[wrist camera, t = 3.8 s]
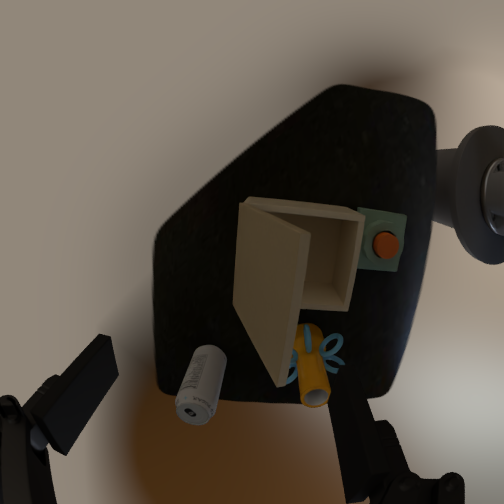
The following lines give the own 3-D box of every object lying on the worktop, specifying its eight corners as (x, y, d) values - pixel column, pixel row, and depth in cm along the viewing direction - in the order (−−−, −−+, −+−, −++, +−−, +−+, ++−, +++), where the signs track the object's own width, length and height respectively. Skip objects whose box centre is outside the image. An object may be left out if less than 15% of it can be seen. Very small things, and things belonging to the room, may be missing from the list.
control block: (402, 214, 40) (412, 217, 36) (392, 268, 42) (401, 275, 39) (357, 207, 40) (364, 210, 37) (348, 264, 42) (354, 271, 39)
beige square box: (346, 207, 40) (365, 215, 32) (334, 286, 43) (347, 311, 35) (248, 196, 41) (243, 202, 32) (242, 278, 44) (236, 302, 35)
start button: (396, 233, 37) (401, 235, 36) (391, 256, 38) (396, 260, 37) (374, 230, 38) (379, 232, 36) (370, 254, 39) (374, 258, 37)
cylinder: (315, 294, 44) (333, 347, 30) (349, 334, 46) (374, 391, 31) (257, 337, 47) (252, 398, 32) (295, 372, 48) (301, 433, 34)
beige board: (311, 233, 18) (300, 232, 17) (285, 385, 21) (276, 387, 21) (246, 202, 32) (239, 202, 32) (238, 304, 35) (232, 304, 35)
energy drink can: (210, 372, 49) (193, 431, 35) (188, 351, 48) (163, 408, 34) (234, 358, 48) (222, 419, 34) (211, 336, 47) (191, 395, 33)
